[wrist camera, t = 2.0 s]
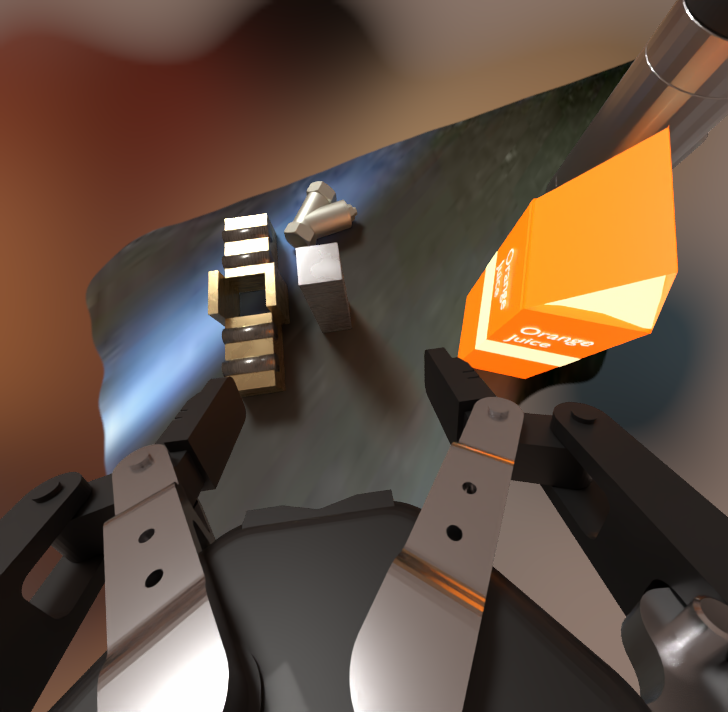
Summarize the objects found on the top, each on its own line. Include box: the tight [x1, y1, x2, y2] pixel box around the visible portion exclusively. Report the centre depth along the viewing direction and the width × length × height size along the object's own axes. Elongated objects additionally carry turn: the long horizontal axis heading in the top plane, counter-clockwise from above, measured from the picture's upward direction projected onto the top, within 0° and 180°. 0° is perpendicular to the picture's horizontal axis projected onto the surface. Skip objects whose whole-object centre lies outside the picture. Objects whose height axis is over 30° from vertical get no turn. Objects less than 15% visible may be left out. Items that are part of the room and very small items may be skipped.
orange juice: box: [458, 126, 678, 379], centre depth 23 cm, size 8×9×20 cm
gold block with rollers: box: [208, 214, 290, 397], centre depth 32 cm, size 7×21×5 cm, turn 8°
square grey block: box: [296, 243, 352, 333], centre depth 28 cm, size 4×4×11 cm
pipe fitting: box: [284, 182, 357, 249], centre depth 35 cm, size 8×4×7 cm
